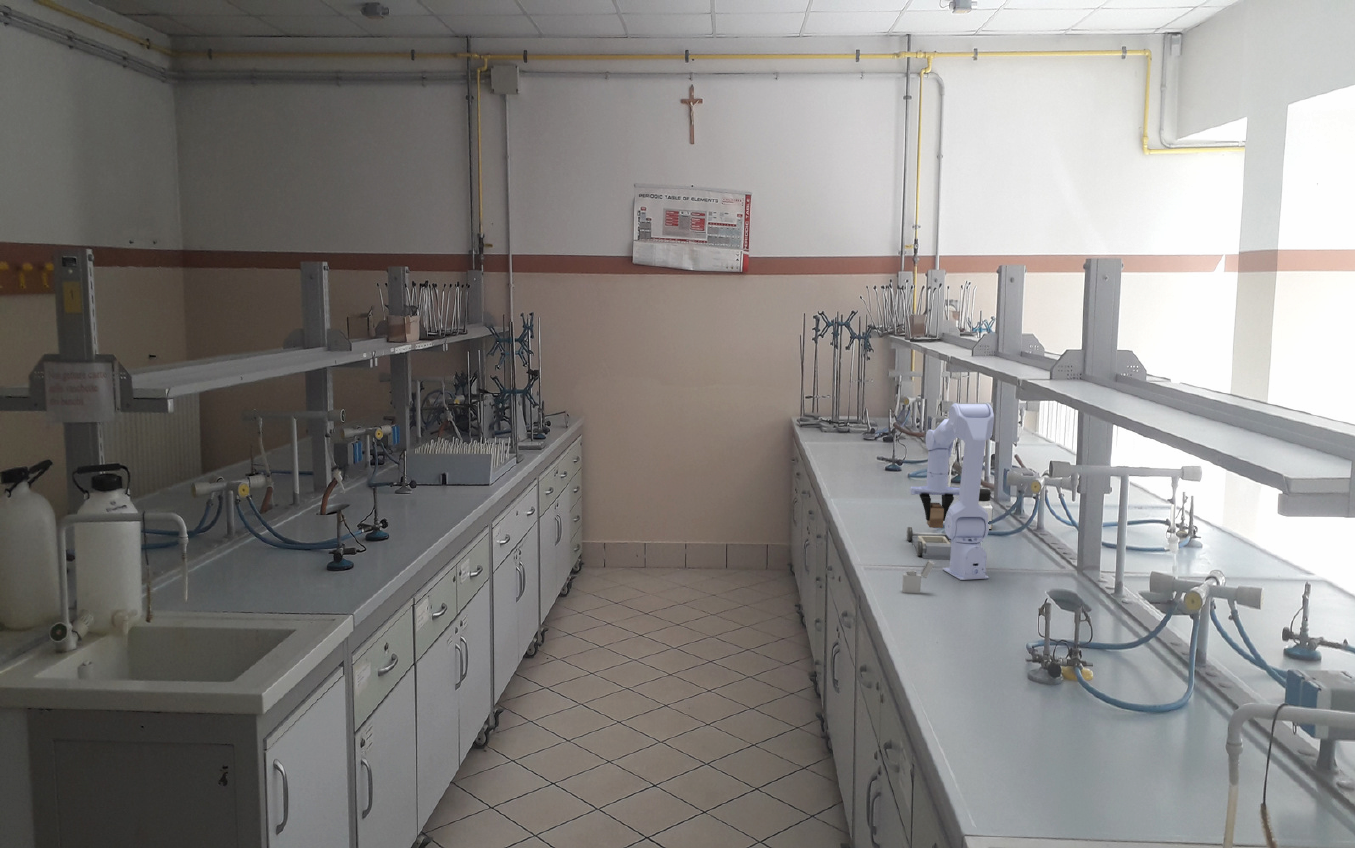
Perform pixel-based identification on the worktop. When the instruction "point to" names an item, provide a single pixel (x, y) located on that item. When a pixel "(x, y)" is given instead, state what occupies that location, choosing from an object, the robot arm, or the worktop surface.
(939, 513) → the brown wooden block
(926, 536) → the chassis
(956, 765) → the worktop surface
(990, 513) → the medicine bottle
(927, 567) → the lighter
